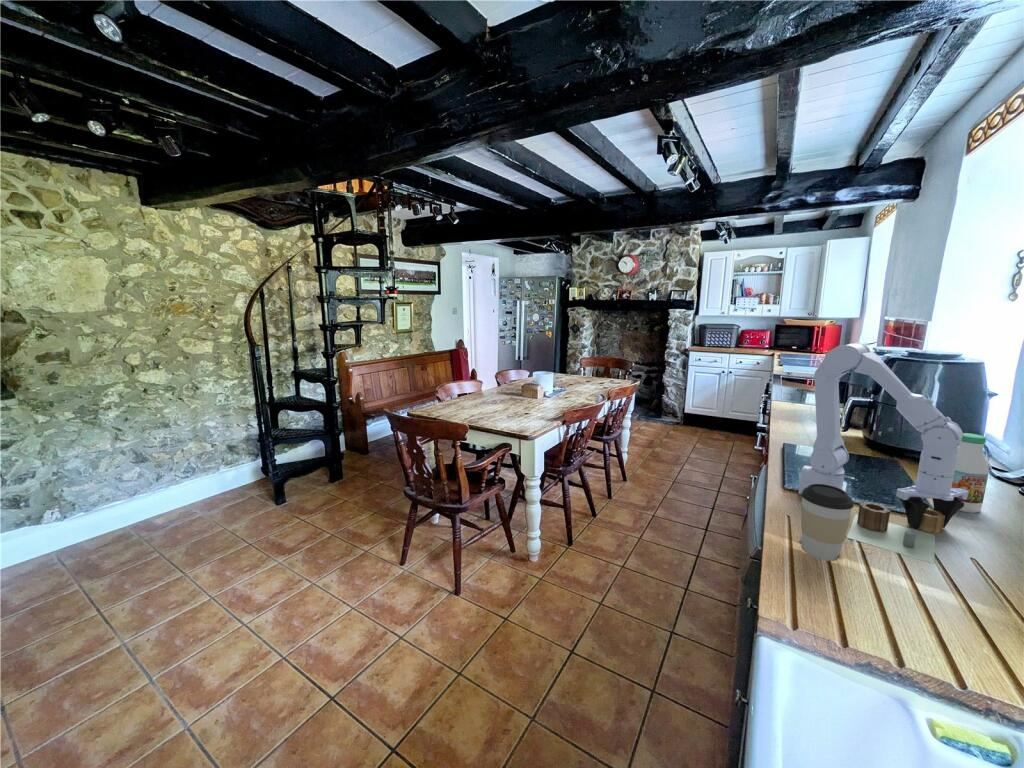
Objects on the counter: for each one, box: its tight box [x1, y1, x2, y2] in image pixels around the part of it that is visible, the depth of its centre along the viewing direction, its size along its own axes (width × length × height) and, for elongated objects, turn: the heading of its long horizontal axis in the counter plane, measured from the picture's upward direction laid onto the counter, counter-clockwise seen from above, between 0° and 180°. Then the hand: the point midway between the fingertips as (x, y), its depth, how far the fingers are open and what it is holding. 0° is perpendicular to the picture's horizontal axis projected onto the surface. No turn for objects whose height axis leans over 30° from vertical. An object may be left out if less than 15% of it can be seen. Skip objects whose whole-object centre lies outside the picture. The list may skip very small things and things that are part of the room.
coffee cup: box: [800, 484, 855, 562], centre depth 88 cm, size 9×9×15 cm
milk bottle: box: [951, 432, 990, 514], centre depth 106 cm, size 8×8×20 cm
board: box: [846, 513, 936, 565], centre depth 92 cm, size 14×15×4 cm
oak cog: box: [918, 507, 945, 534], centre depth 96 cm, size 5×5×5 cm
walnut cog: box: [857, 501, 891, 533], centre depth 96 cm, size 5×5×5 cm
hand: (925, 526), depth 96 cm, fingers closed on oak cog, 5 cm apart
